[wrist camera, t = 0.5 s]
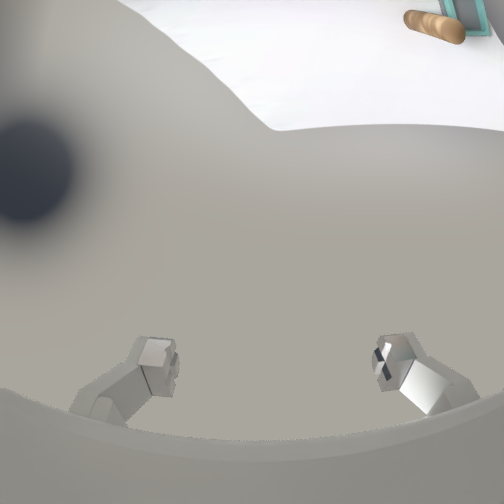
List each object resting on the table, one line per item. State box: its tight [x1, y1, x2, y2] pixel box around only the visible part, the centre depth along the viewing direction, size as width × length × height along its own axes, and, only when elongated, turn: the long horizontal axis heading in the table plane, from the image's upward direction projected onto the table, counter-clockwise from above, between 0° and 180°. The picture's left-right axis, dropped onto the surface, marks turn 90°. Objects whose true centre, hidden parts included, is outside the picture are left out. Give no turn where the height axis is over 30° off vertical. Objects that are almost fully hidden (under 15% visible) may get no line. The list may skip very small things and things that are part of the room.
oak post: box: [404, 10, 466, 44], centre depth 28 cm, size 4×4×14 cm
